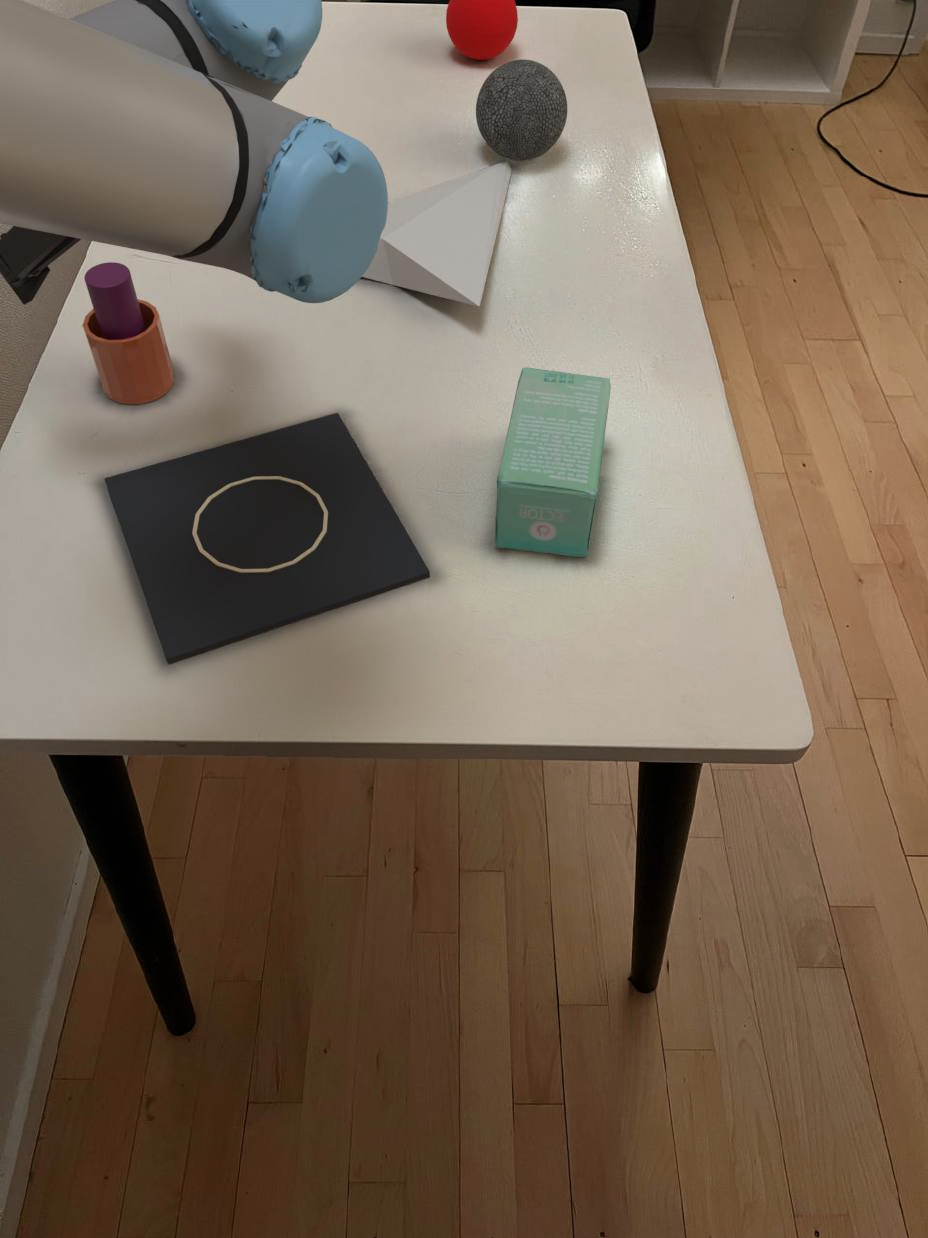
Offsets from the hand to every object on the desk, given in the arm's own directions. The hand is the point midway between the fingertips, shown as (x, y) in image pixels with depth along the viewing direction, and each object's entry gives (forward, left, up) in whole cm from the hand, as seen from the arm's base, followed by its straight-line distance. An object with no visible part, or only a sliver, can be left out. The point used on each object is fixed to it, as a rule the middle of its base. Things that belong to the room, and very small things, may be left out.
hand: (89, 250), depth 85 cm
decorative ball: (+50, +21, -13) cm, 55 cm away
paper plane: (+29, +11, -12) cm, 34 cm away
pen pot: (+1, -1, -12) cm, 12 cm away
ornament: (+56, +46, -13) cm, 74 cm away
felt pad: (+5, -23, -12) cm, 27 cm away
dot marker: (+1, -1, -12) cm, 12 cm away
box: (+27, -29, -13) cm, 42 cm away
